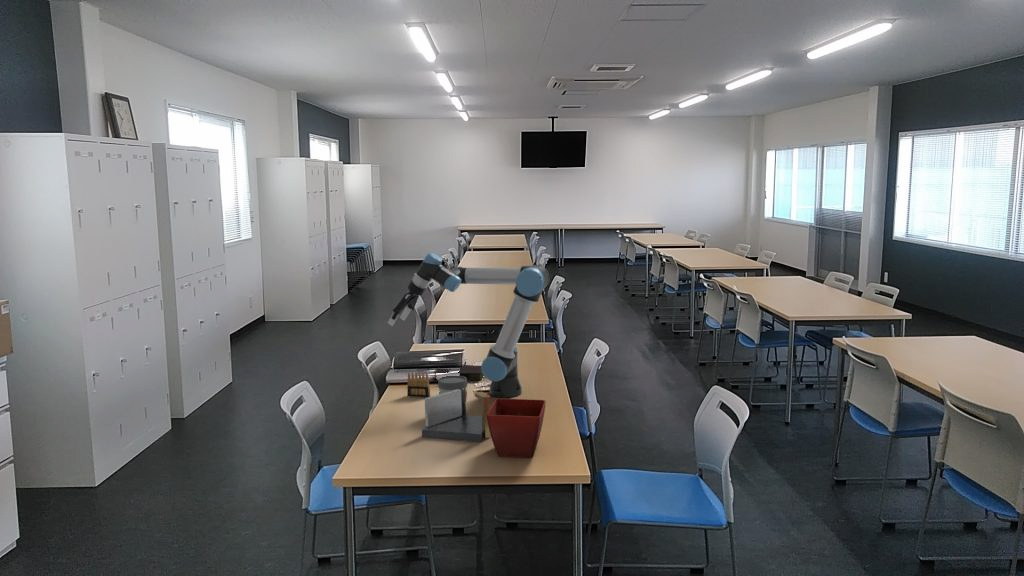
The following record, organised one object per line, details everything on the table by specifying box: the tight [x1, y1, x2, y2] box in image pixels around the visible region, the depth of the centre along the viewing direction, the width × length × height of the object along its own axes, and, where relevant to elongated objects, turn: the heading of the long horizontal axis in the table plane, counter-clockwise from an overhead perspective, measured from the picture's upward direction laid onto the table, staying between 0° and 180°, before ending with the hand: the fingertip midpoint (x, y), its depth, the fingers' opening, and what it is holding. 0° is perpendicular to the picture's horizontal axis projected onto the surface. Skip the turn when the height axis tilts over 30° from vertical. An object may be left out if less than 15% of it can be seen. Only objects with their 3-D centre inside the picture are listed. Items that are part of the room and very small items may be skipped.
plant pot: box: [487, 398, 546, 459], centre depth 253 cm, size 19×19×17 cm
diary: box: [433, 364, 485, 382], centre depth 356 cm, size 19×25×5 cm
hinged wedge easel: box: [424, 388, 467, 427], centre depth 279 cm, size 20×3×11 cm, turn 134°
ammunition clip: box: [406, 371, 431, 398], centre depth 323 cm, size 11×2×12 cm, turn 77°
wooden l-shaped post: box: [474, 391, 492, 440], centre depth 270 cm, size 3×7×16 cm, turn 30°
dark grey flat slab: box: [421, 414, 485, 443], centre depth 277 cm, size 20×24×3 cm
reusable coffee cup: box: [437, 376, 468, 399], centre depth 298 cm, size 12×13×15 cm
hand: (396, 321), depth 320 cm, fingers open, 13 cm apart
